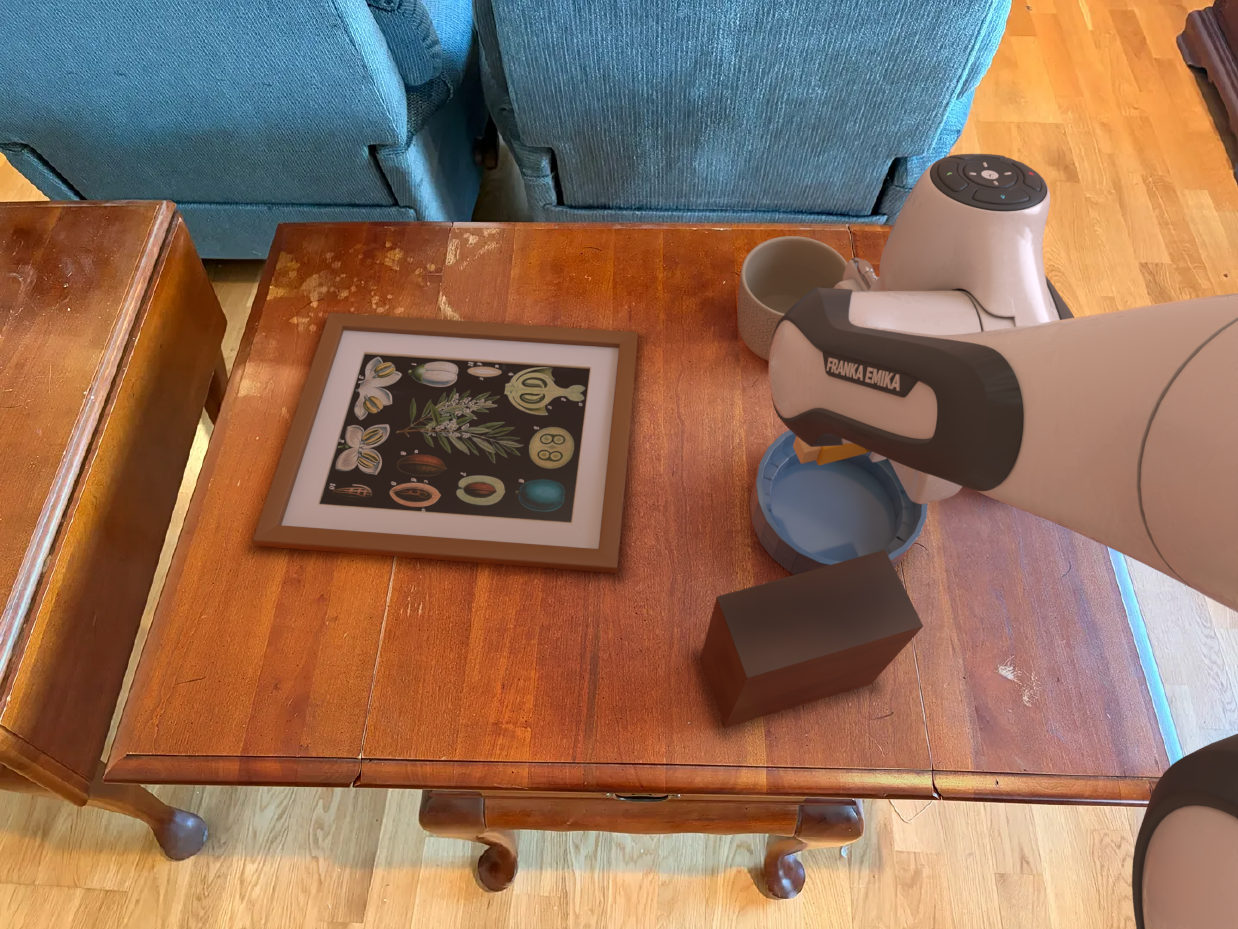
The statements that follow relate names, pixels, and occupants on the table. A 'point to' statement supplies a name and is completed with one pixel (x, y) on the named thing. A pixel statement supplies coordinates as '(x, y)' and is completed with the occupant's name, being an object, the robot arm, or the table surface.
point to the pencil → (825, 452)
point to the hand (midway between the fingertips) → (866, 436)
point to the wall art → (458, 444)
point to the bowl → (830, 509)
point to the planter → (781, 284)
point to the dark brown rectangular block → (806, 637)
